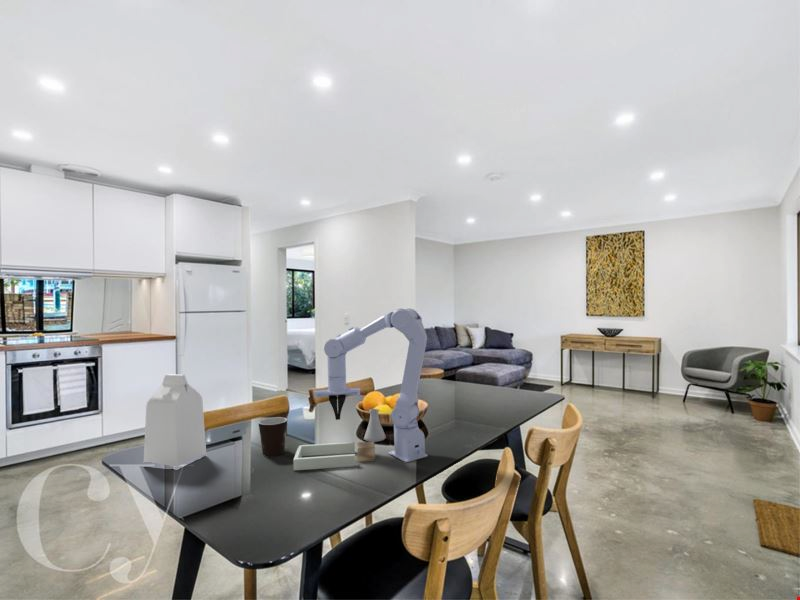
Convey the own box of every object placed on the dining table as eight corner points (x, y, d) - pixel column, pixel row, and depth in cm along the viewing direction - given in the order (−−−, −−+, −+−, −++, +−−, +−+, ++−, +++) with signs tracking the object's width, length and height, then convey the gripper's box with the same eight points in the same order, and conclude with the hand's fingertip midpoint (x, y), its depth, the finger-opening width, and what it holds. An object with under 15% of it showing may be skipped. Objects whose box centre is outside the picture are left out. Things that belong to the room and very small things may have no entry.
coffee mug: (279, 458, 122) (278, 425, 122) (253, 457, 123) (252, 424, 124) (296, 445, 133) (296, 415, 133) (272, 444, 135) (272, 414, 135)
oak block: (374, 454, 123) (373, 441, 124) (375, 460, 118) (374, 447, 119) (357, 455, 123) (357, 442, 123) (357, 461, 118) (357, 448, 118)
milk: (206, 456, 126) (205, 372, 126) (176, 470, 114) (175, 378, 115) (175, 453, 129) (174, 371, 129) (143, 467, 118) (142, 377, 118)
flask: (375, 444, 133) (375, 413, 133) (359, 440, 137) (359, 410, 138) (389, 438, 139) (389, 408, 139) (373, 434, 143) (373, 406, 143)
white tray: (354, 451, 126) (354, 441, 126) (355, 466, 114) (354, 455, 114) (298, 455, 124) (298, 445, 124) (293, 470, 112) (293, 459, 112)
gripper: (312, 379, 125) (313, 423, 125) (359, 377, 127) (360, 420, 127) (314, 375, 132) (315, 417, 132) (359, 373, 134) (360, 415, 134)
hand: (337, 418), depth 130 cm, fingers closed
